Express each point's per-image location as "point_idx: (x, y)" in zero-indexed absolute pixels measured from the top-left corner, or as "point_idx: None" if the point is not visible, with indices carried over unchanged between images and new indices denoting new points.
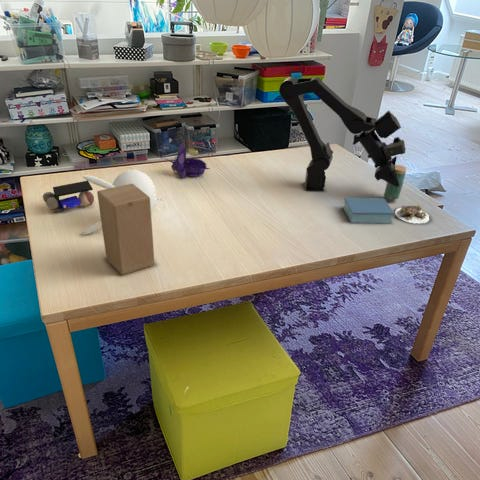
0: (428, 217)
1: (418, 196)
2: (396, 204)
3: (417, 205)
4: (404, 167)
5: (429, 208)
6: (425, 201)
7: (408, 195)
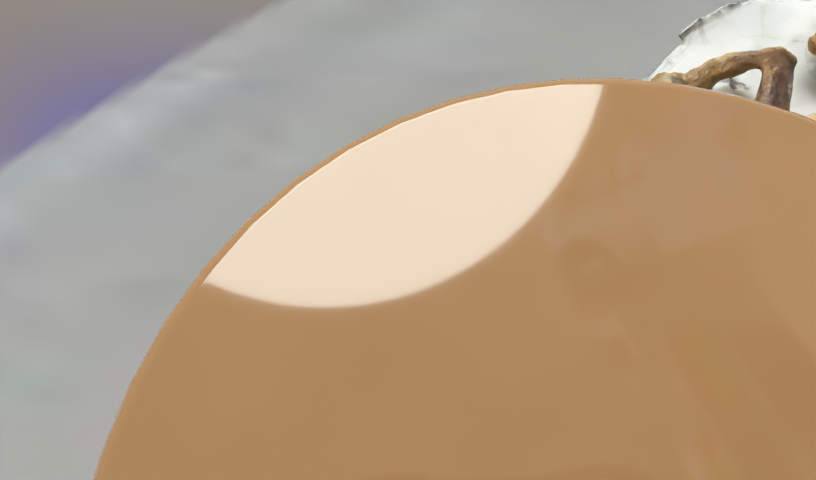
0: (795, 3)
1: (157, 139)
2: None
3: None
4: (424, 176)
5: (488, 11)
6: (294, 57)
7: (164, 265)
